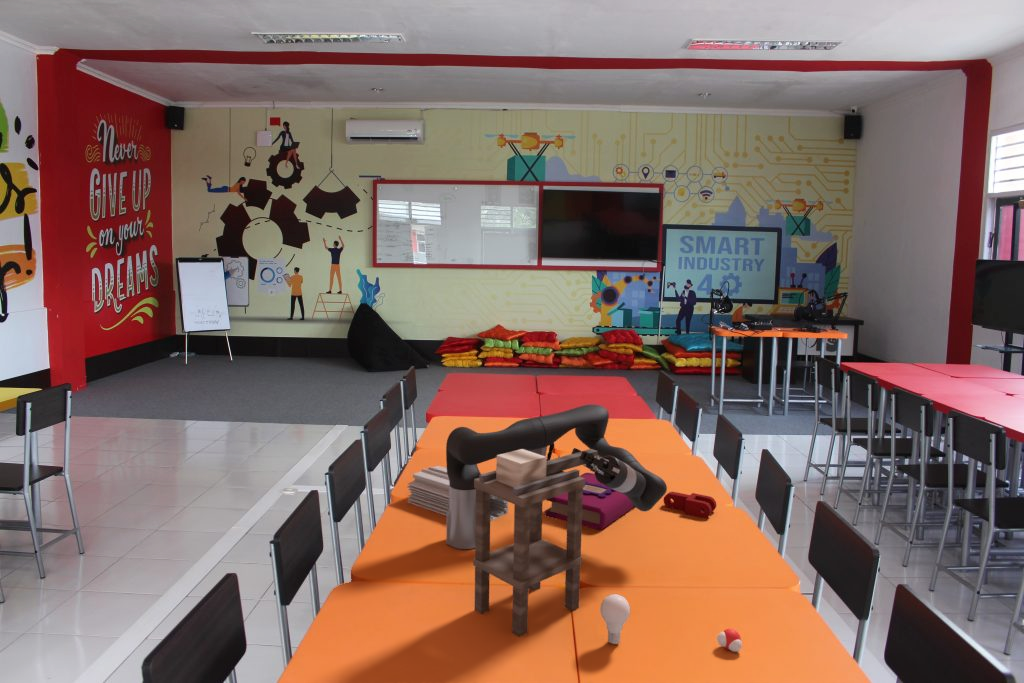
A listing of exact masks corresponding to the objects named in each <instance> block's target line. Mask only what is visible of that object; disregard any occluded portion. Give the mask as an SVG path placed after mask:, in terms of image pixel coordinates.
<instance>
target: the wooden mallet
mask: <svg viewBox="0 0 1024 683" xmlns="http://www.w3.org/2000/svg"><path fill="white" fill-rule="evenodd" d="M581 451H582V452H583V451H586V452H588V453H590V454H591V455H594V456H597V457H598V451H596V450H593V449H590V448H588V449H585V450H581ZM582 452H578V453H574V454H572V453H570V454H567V455H563V456H561V457H559V456H558V457H555V458H553V459H550V460H548V461H547V456H546V457H545V456H542V455H539V454H536V453H533V452H530V451H527V450H524V449H520V450H516V451H512V452H508V453H504V454H500V455H497V458H496V465H495V467H496V470H495V471H496V481H498V482H501V483H503V484H506V485H508V486H511V487H514V488H515V487H518V486H521V485H525V484H528V483H531V482H535V481H538V480H541V479H545V478H546V475H549V474H553V473H556V472H560V471H565V470H566V471H567V470H569V469H570V470H571V469H573V468H576V467H580V466H583V465H584V464H587V462H585V461H583V460H581V459H580V457H581V454H582Z"/></svg>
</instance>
